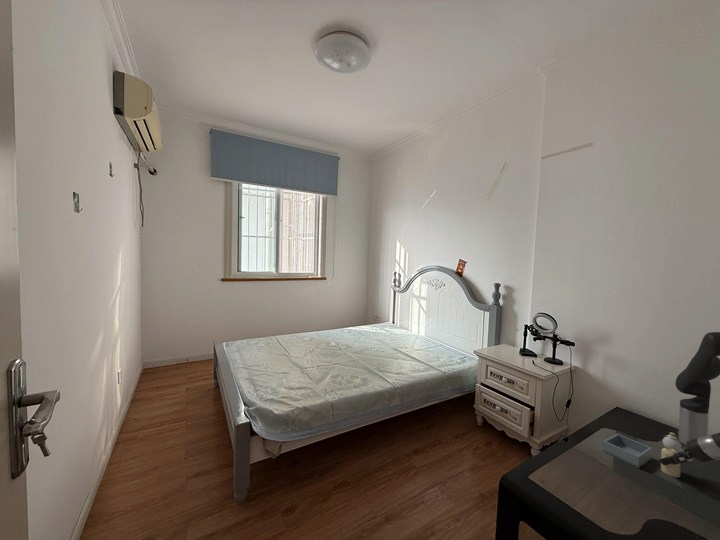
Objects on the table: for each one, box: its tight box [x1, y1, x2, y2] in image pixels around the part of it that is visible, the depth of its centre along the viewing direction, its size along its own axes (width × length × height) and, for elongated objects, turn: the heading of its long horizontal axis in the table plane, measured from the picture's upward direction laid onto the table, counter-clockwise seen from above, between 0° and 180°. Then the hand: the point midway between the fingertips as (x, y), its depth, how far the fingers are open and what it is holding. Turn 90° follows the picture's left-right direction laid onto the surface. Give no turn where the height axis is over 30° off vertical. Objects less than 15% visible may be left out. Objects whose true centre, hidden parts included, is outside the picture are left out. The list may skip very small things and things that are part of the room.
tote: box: [602, 433, 653, 469], centre depth 133 cm, size 14×13×5 cm
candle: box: [660, 447, 682, 478], centre depth 122 cm, size 6×6×10 cm
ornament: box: [662, 431, 685, 451], centre depth 136 cm, size 6×7×10 cm
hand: (664, 460), depth 123 cm, fingers closed on candle, 5 cm apart
